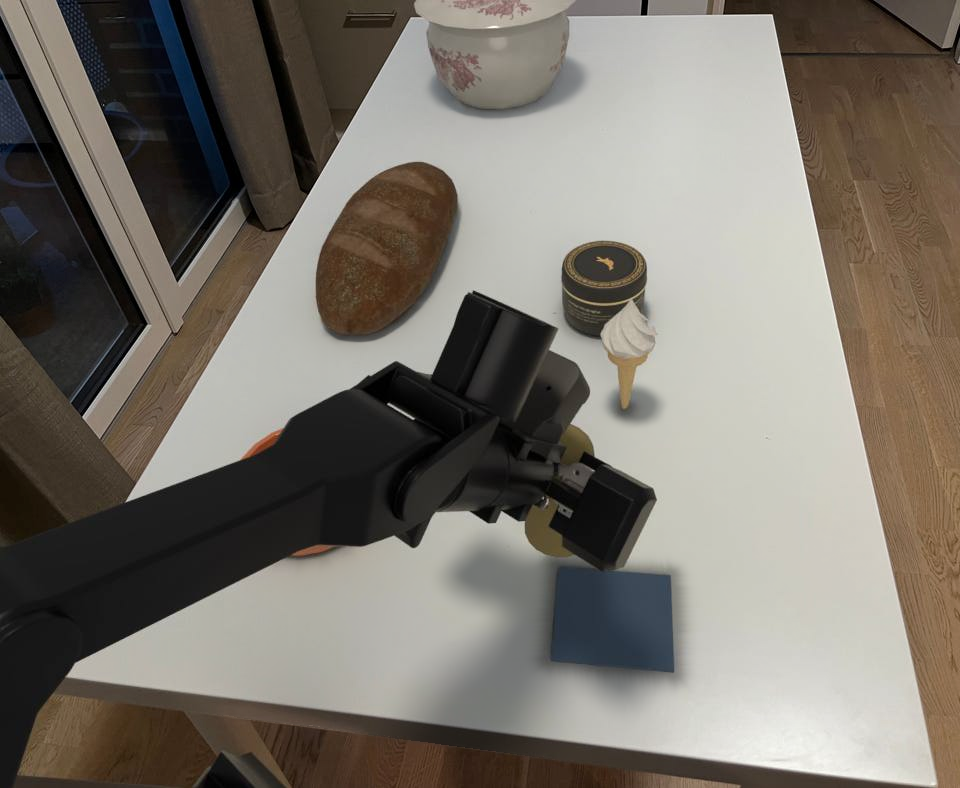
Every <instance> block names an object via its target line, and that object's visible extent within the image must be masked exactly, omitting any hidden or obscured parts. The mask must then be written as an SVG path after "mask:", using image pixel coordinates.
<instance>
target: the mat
mask: <svg viewBox="0 0 960 788" xmlns="http://www.w3.org/2000/svg"><path fill="white" fill-rule="evenodd" d="M672 599H673V598H672V575H671V574H661V573H659V574H657V573H647V572H636V571H635V572H634V571H620V570H619V571H618V570H612V571H608V572H602V571H600V570H598V569H593V568H592V569H591V568H579V567H568V566H566V567H565V566H558V567H557V578H556V592H555V602H554V603H555V605H554V617H553V631H552V642H551V643H552V644H551V655H550V661H551V662H559V663H570V664H580V665H592V666H603V667H612V668H613V667H614V668H624V669H636V670H644V671H645V670H647V671H656V672H657V671H658V672H668V673H669V672H670V673H675V657H674V654H675V653H674V630H673V628H674V627H673V602H672Z"/></svg>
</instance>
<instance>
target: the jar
mask: <svg viewBox="0 0 960 788" xmlns="http://www.w3.org/2000/svg"><path fill="white" fill-rule="evenodd" d="M560 278H561V280H560V282H561V302H562V303H561V304H562V309H563V312H564V315H565V318H566V320H567V321H568V323H569V324H570V325H571V327H574V328H575V330H577V331H578V332H580V333H583V334H586V335H590V336H593V337H601V335H600V334H601V332H602V330H603V328H604V325H605V324H606V323H607V322H609V321H610V320H611V319H612V318H613V317H614V316H615V315H616V314H617V313H619V312H620V311H621V310H622V309H623V308H624V307H625V306H626V305H627V304H628V302H629V301H630V300H631V299H632V300H633V302H634V304H635V305H636V307H637V308H638V309H639V312H640V313H641V314H642V312H643V309H644V305H645V294H646V287H647V284H648V266H647V261H646V259H645V257H644V255H643V254H642V253H641V252H640V251H639V250H638V249H636V248H635V247H633V246H632V245H629V244H626V243H624V242H619V241H615V240H595V241H589V242H586V243H583V244H580V245H578V246H576V247H574V248H573V249H571V250H570V251H569V252H567V254H566V255H565V257H564V258H563V261H562V264H561V276H560Z"/></svg>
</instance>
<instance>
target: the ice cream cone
mask: <svg viewBox="0 0 960 788" xmlns="http://www.w3.org/2000/svg"><path fill="white" fill-rule="evenodd" d="M647 322H649V319H648V318H647V317H646V316H645V315H644V314H642V312H641V313H640V312H639V309H638V308H637V307H636V305H635V304H634V302H633V300H632V299H631V300H630V301H629V302H628V304H627V305H626V306H625V307H624V308H623V309H622V310H621V311H620V312H619V313H617V314H616V315H615V316H614V317H613V318H612V319H611V320H610V321H609V322H607V323H606V324H605V325H604V328H603V330H602V332H601V334H600V335H601V336H600V339H601V344H602V347H603V349H604V351H606V353H607V358H608V360H609V361H610V362H611V364H613V365H615V366H616V367H617V379H618V387H619V388H618V389H619V395H620V396H619V397H620V406H621V408H622V409H623V410H626V409H627V408H628V407H629V404H630V398H631V394H632V389H633V385H634V381H635V376H636V370H637V367H639V366H641V365H643V364H644V363H646V361H647V359H648V357H649V356H648V355H649V354H650V353H651V352H653V350H654V348H655V346H656V345H655V344H657V343H656V338H655V336H658V335H659V334H658V332H657V330H656V327H655V326H654V325H651V326H650V325H648V324H647Z"/></svg>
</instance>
